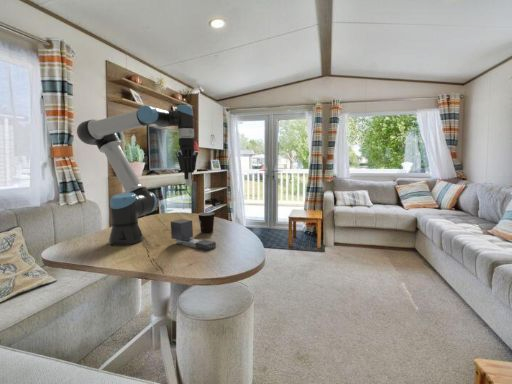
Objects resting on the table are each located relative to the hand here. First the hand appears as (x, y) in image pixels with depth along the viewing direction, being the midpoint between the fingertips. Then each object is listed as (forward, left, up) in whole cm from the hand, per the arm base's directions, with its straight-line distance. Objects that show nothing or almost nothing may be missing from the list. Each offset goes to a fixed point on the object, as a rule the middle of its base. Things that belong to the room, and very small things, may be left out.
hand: (188, 185), depth 144 cm
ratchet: (+12, -9, -26) cm, 30 cm away
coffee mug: (-1, +13, -27) cm, 30 cm away
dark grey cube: (+4, -9, -24) cm, 26 cm away
